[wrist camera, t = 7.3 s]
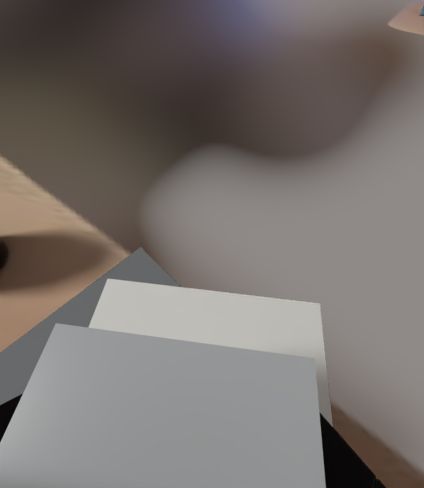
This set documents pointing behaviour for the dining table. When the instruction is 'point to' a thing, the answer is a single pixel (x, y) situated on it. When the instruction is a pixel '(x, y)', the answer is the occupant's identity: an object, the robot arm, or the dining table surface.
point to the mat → (70, 321)
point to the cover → (175, 395)
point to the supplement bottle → (2, 253)
